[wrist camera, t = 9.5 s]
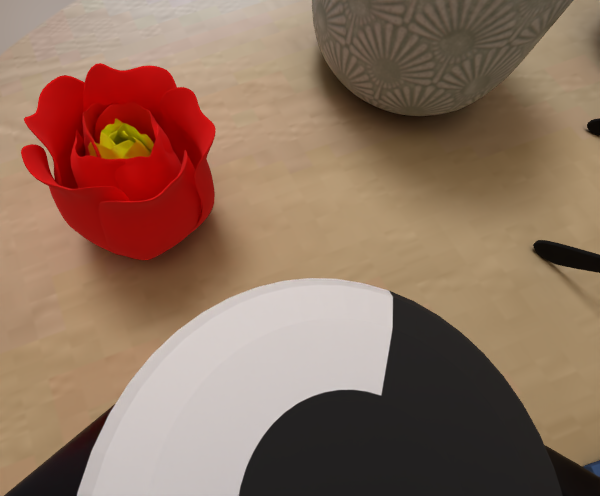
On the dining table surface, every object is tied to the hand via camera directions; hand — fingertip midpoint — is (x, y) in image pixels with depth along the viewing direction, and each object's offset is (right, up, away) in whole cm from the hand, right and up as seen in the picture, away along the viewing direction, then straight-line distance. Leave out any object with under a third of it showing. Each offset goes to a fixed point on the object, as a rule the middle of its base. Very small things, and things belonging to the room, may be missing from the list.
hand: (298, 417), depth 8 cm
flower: (-9, +5, +16) cm, 19 cm away
